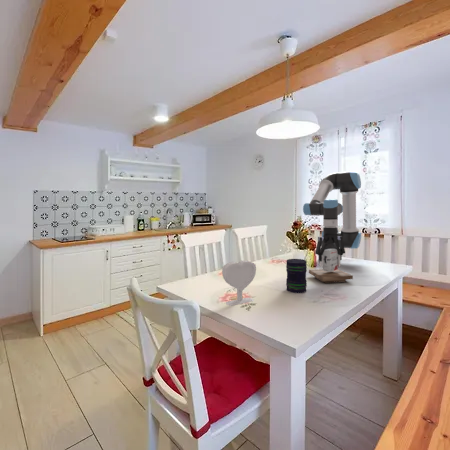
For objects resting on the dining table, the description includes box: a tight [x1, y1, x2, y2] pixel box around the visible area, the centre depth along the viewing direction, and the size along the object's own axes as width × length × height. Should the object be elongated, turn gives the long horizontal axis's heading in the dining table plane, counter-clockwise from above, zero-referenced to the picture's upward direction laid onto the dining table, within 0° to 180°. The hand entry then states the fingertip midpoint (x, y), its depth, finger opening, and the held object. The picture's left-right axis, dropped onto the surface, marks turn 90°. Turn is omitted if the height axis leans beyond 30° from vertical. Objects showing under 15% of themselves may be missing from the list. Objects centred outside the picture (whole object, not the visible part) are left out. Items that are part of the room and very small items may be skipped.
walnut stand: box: [308, 268, 354, 284], centre depth 153 cm, size 17×17×4 cm
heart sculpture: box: [221, 259, 257, 307], centre depth 120 cm, size 16×5×18 cm, turn 118°
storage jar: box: [285, 258, 308, 294], centre depth 135 cm, size 10×10×15 cm
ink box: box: [321, 249, 339, 272], centre depth 152 cm, size 8×5×12 cm, turn 129°
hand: (329, 266), depth 152 cm, fingers closed on ink box, 9 cm apart
